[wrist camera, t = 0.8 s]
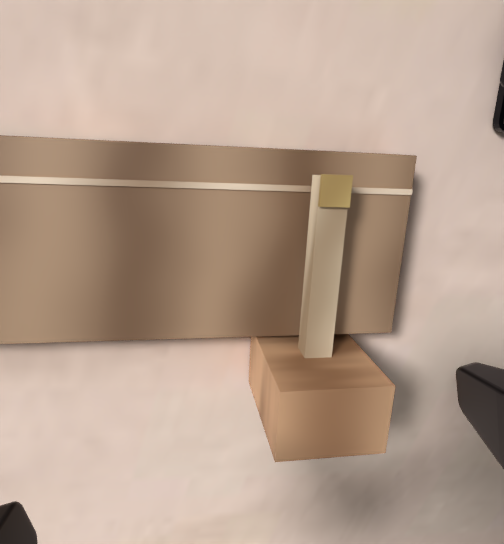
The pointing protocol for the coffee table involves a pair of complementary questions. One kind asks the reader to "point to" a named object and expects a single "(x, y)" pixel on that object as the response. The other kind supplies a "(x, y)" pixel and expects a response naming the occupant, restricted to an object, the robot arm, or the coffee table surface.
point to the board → (186, 239)
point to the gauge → (321, 356)
